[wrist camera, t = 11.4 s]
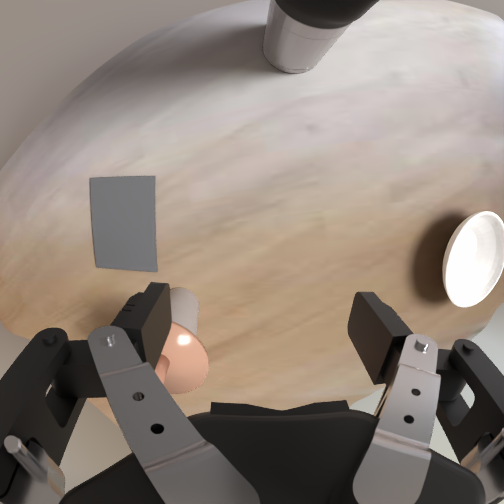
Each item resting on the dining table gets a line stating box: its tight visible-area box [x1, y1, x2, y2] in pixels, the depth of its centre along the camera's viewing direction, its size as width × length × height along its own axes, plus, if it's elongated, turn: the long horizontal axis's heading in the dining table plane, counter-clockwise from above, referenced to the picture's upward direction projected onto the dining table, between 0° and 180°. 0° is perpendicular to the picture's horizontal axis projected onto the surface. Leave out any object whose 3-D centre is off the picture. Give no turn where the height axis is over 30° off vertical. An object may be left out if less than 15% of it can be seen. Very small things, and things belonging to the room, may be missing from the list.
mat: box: [90, 176, 157, 272], centre depth 44 cm, size 16×12×1 cm
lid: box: [155, 321, 209, 394], centre depth 31 cm, size 13×13×7 cm
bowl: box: [442, 211, 504, 307], centre depth 44 cm, size 20×20×7 cm
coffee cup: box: [170, 288, 199, 336], centre depth 42 cm, size 10×10×15 cm
